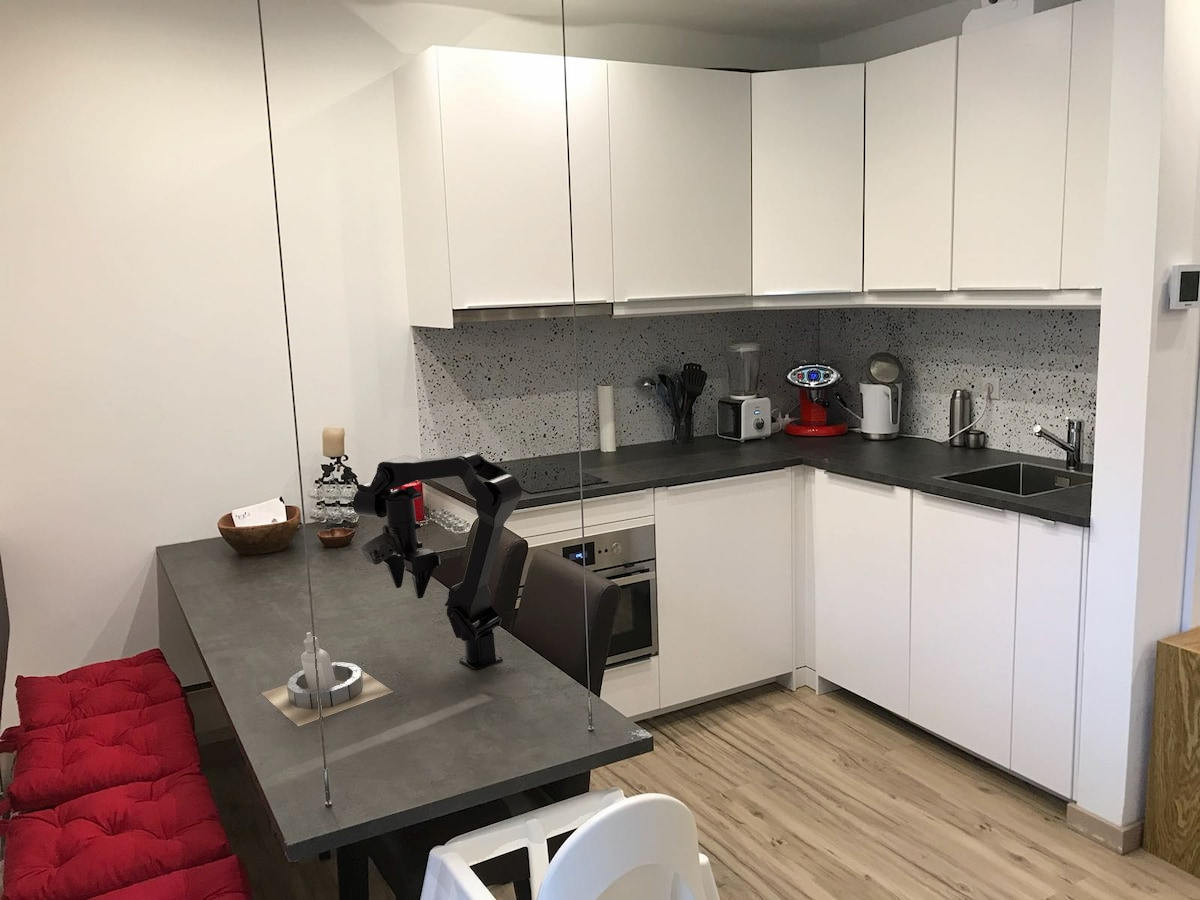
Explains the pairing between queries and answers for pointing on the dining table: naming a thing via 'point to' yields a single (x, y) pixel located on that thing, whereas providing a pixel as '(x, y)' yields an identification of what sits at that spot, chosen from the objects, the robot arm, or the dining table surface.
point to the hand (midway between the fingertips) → (409, 592)
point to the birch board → (304, 716)
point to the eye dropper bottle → (323, 665)
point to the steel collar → (330, 695)
